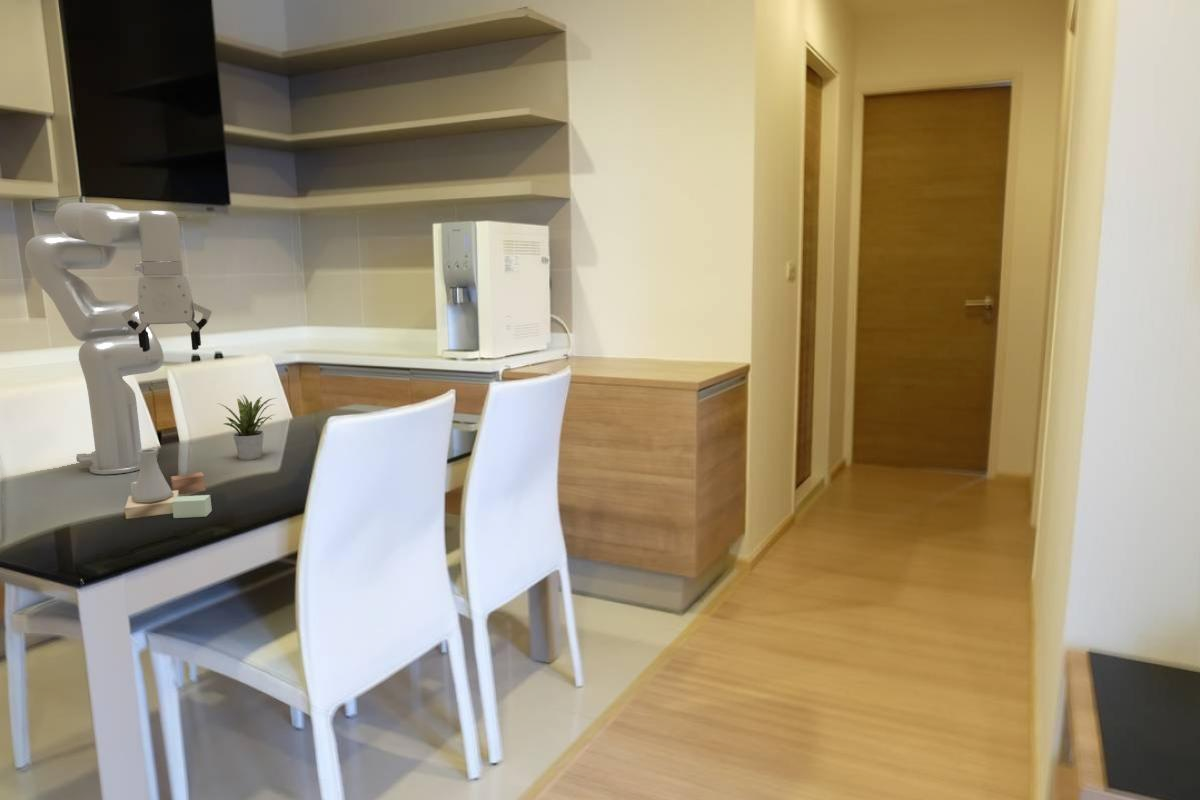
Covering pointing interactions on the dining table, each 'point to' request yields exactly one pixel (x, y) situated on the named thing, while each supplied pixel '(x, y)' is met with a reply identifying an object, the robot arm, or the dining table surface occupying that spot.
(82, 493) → the dining table surface
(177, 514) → the sage brick
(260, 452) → the house plant
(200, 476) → the cherry brick
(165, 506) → the oak block
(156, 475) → the flask
